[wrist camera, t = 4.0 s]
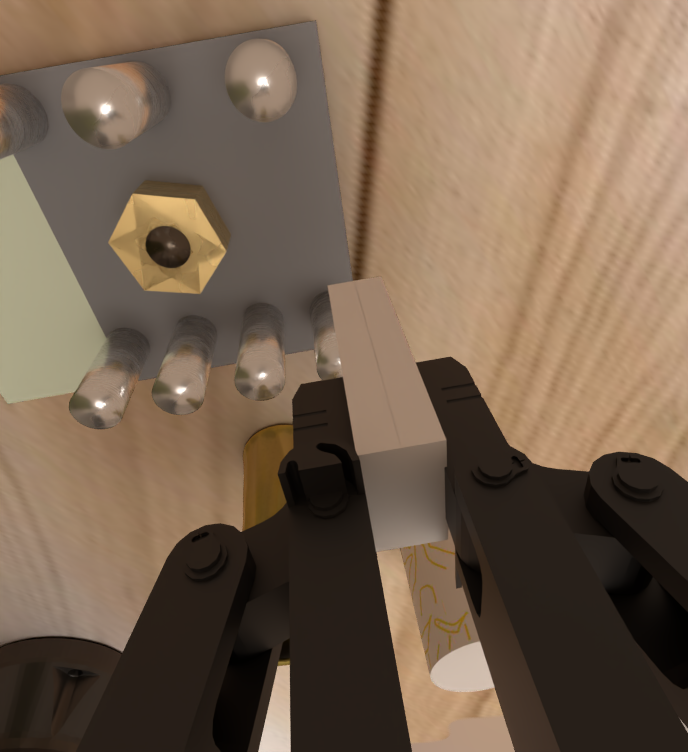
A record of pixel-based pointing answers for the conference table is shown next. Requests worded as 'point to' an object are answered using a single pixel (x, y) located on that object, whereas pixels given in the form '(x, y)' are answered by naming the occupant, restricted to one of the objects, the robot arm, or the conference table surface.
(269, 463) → the vase
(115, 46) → the conference table surface
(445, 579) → the cup
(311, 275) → the plate
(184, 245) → the nut
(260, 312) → the set of metal pegs
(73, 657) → the robot arm
